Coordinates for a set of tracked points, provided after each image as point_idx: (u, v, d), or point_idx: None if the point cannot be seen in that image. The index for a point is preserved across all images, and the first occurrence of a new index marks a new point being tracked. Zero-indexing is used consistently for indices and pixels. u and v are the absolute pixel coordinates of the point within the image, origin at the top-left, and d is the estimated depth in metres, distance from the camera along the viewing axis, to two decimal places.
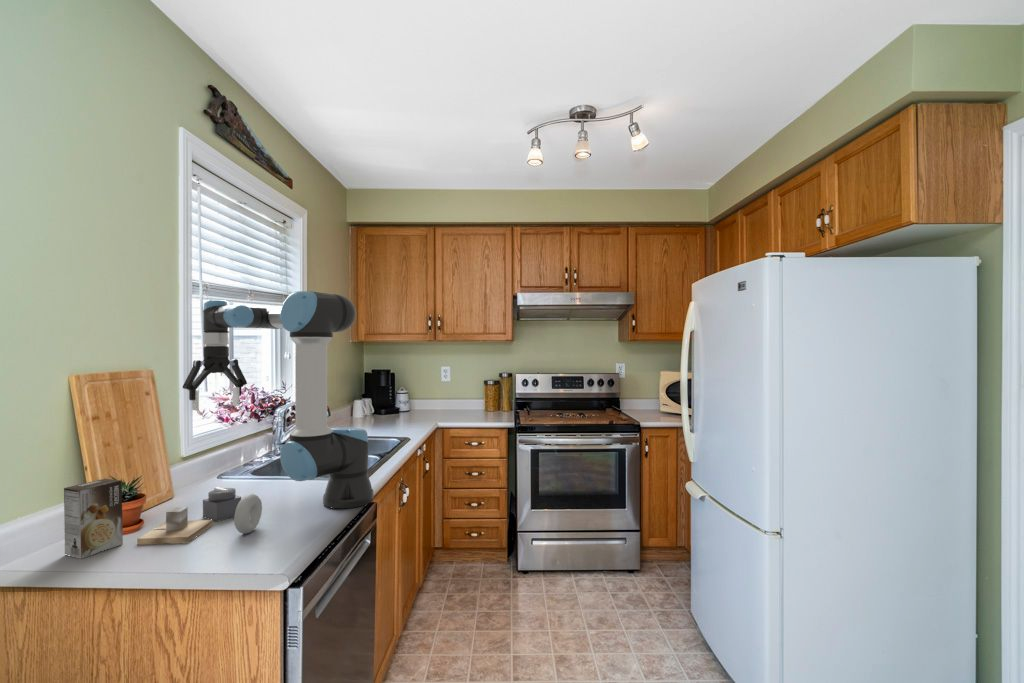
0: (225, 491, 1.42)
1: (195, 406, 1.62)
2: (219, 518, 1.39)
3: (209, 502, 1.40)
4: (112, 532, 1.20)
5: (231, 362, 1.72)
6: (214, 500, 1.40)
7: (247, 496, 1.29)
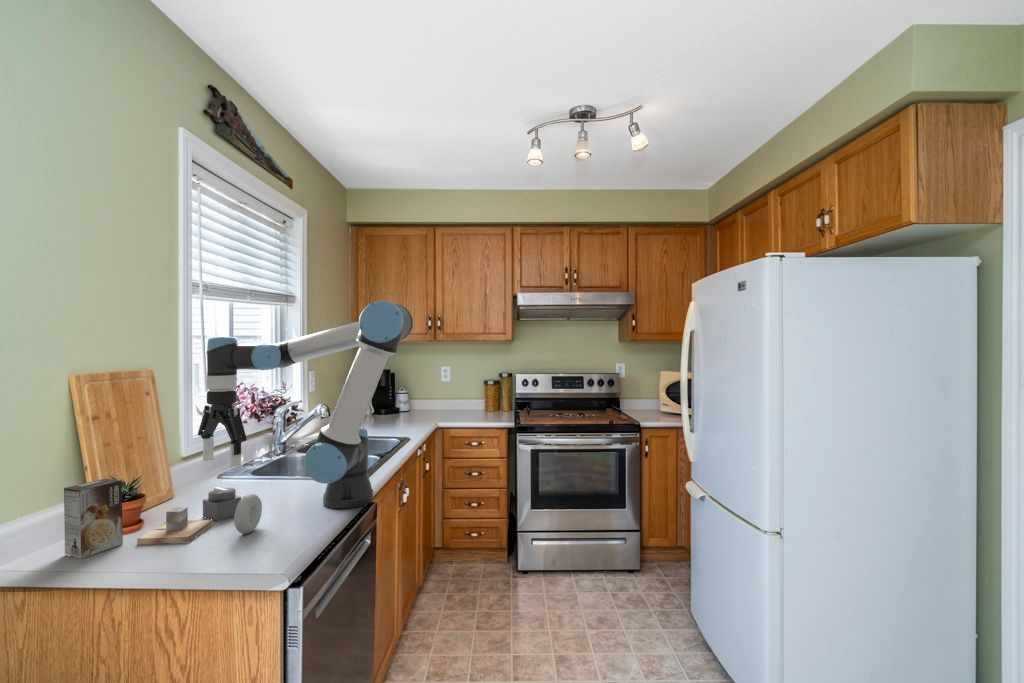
0: (225, 491, 1.42)
1: None
2: (219, 518, 1.39)
3: (209, 502, 1.40)
4: (112, 532, 1.20)
5: None
6: (214, 500, 1.40)
7: (247, 496, 1.29)
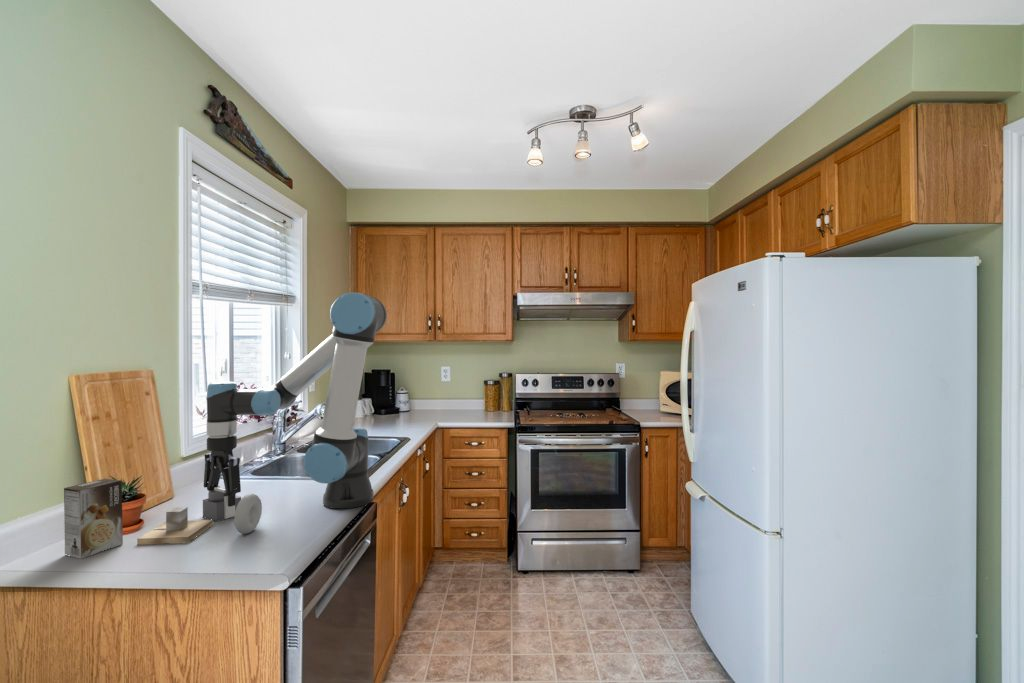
0: (225, 491, 1.42)
1: None
2: (219, 518, 1.39)
3: (209, 502, 1.40)
4: (112, 532, 1.20)
5: (230, 460, 1.40)
6: (214, 500, 1.40)
7: (247, 496, 1.29)
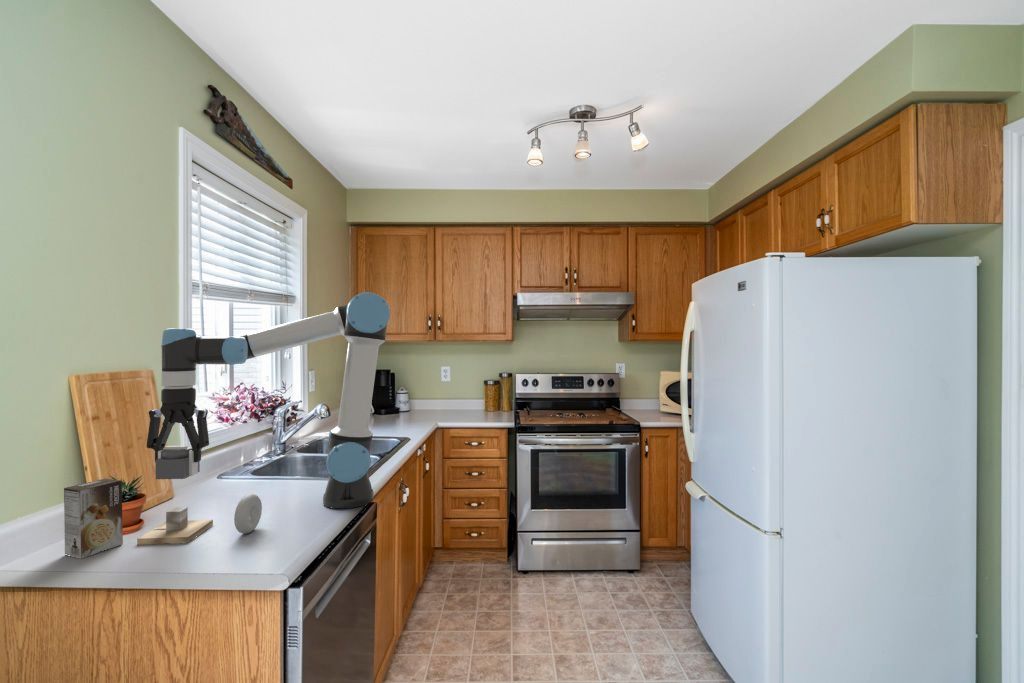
0: (185, 447, 1.30)
1: None
2: (185, 475, 1.27)
3: (169, 460, 1.26)
4: (112, 532, 1.20)
5: (196, 412, 1.30)
6: (177, 457, 1.27)
7: (247, 496, 1.29)
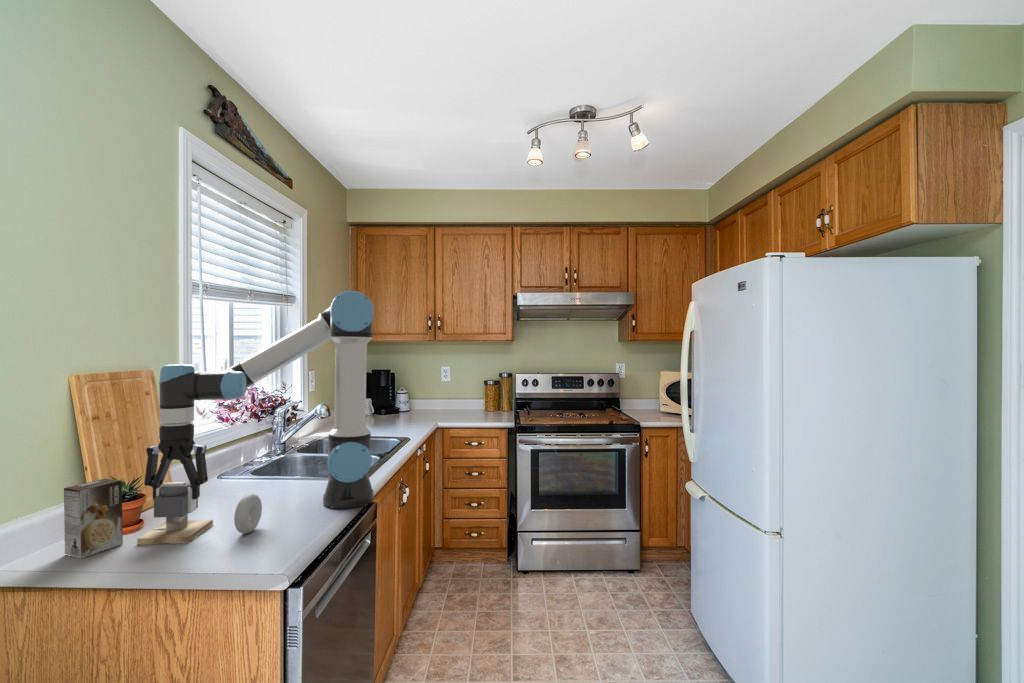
0: (184, 484, 1.29)
1: None
2: (184, 513, 1.26)
3: (167, 498, 1.25)
4: (112, 532, 1.20)
5: (195, 448, 1.29)
6: (175, 494, 1.26)
7: (247, 496, 1.29)
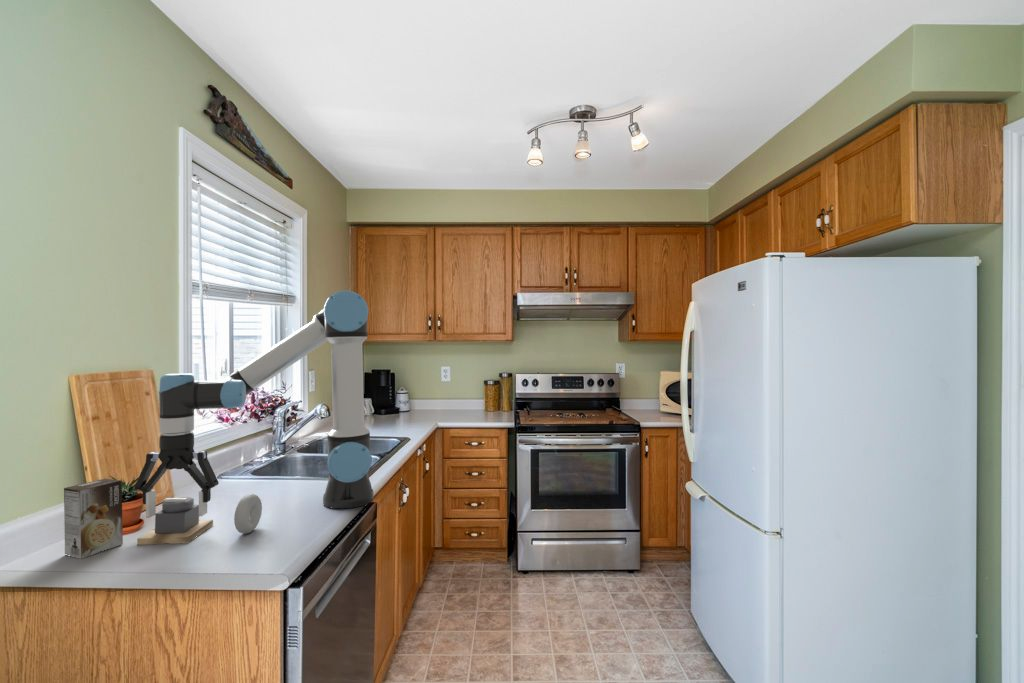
0: (186, 500, 1.29)
1: None
2: (185, 529, 1.26)
3: (169, 514, 1.25)
4: (112, 532, 1.20)
5: (196, 455, 1.29)
6: (177, 511, 1.26)
7: (247, 496, 1.29)
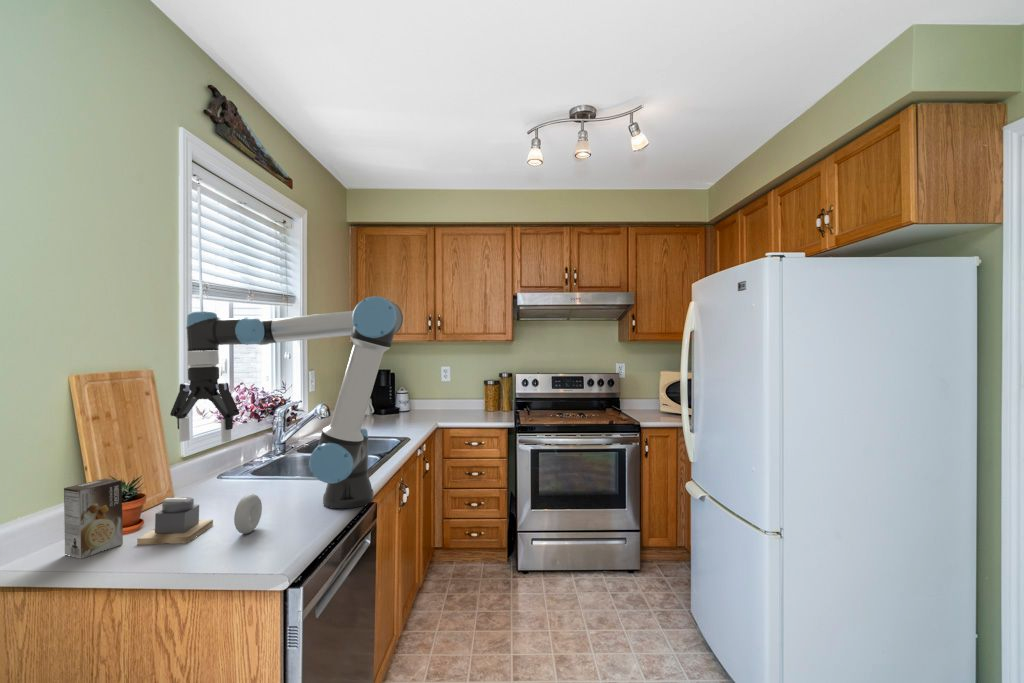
0: (186, 500, 1.29)
1: None
2: (185, 529, 1.26)
3: (169, 514, 1.25)
4: (112, 532, 1.20)
5: None
6: (177, 511, 1.26)
7: (247, 496, 1.29)
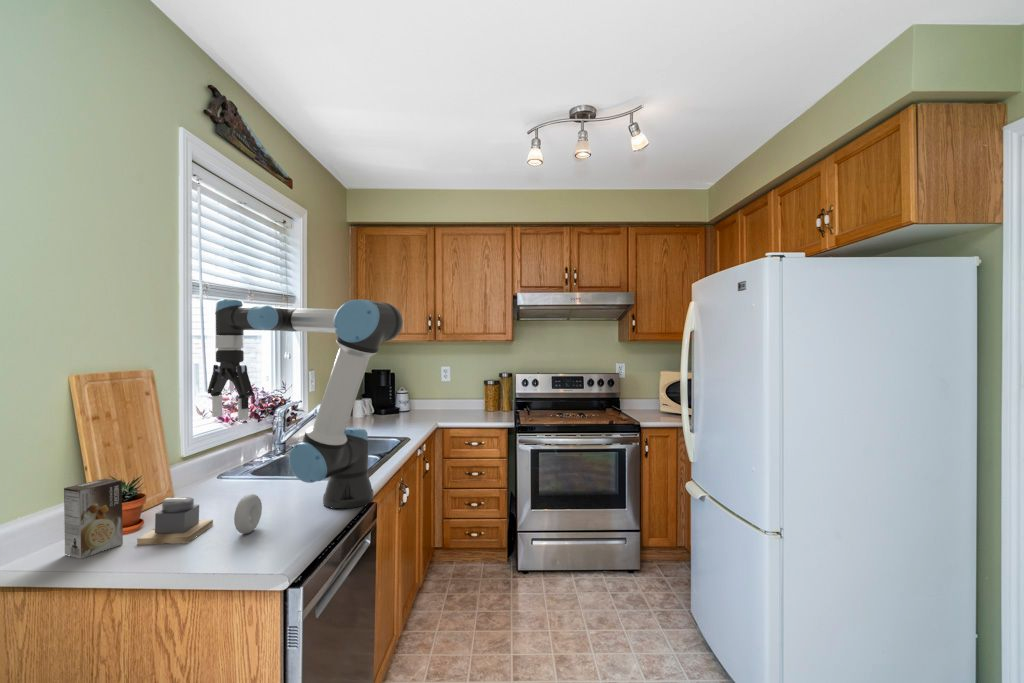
0: (186, 500, 1.29)
1: None
2: (185, 529, 1.26)
3: (169, 514, 1.25)
4: (112, 532, 1.20)
5: None
6: (177, 511, 1.26)
7: (247, 496, 1.29)
